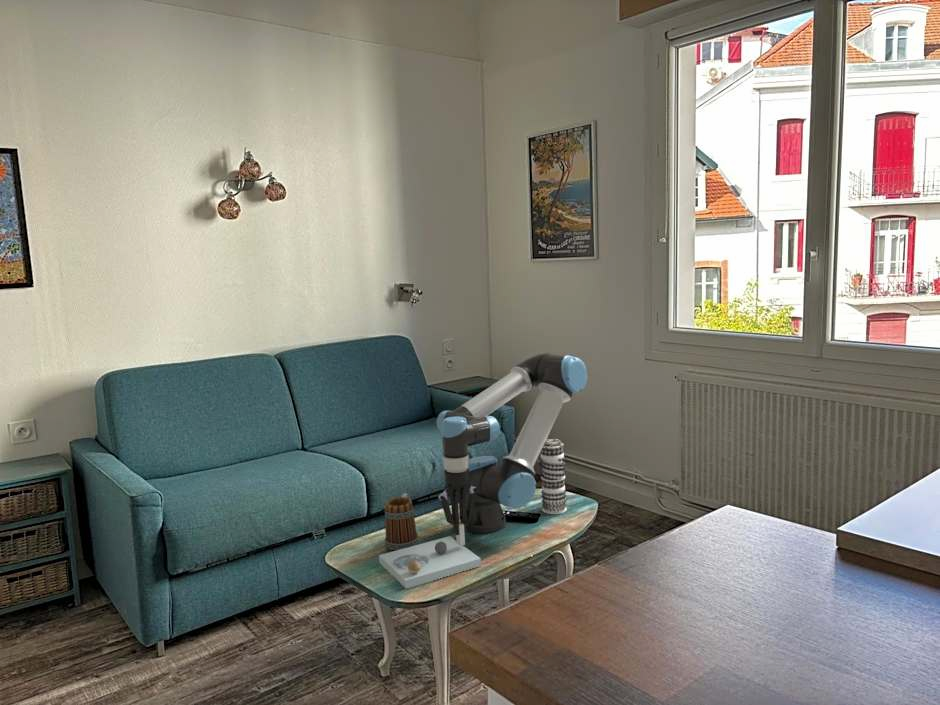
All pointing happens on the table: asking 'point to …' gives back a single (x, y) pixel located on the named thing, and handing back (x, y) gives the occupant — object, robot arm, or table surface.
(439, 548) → the ball
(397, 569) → the white slab
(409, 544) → the mug
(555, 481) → the decorative candle
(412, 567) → the cork ball
